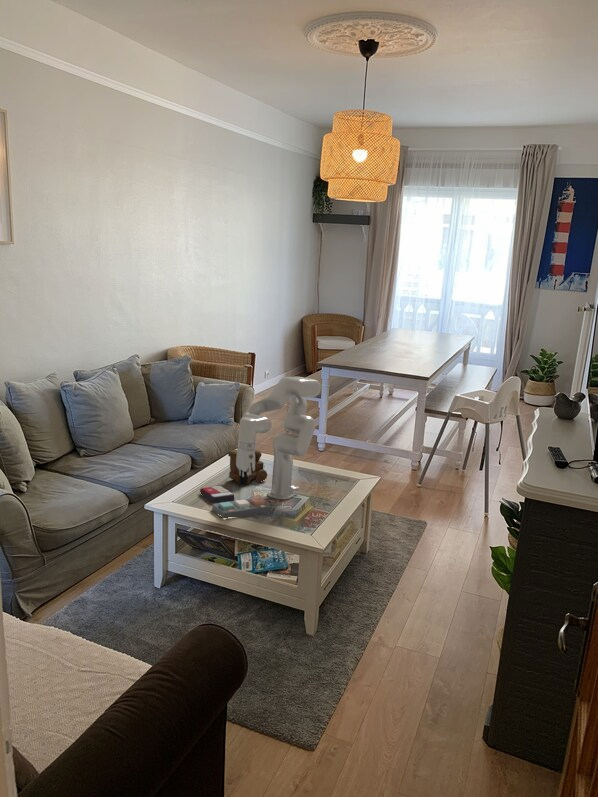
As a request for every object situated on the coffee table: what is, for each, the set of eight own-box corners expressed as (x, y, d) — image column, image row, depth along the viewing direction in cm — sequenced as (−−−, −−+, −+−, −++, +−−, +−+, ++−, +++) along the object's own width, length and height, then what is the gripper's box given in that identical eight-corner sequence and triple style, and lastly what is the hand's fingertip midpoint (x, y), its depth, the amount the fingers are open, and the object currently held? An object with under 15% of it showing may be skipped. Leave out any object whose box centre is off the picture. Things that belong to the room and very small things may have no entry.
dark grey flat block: (258, 503, 292) (258, 497, 291) (271, 512, 282) (271, 505, 282) (212, 510, 279) (212, 503, 278) (223, 519, 269) (224, 512, 268)
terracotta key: (259, 502, 288) (259, 497, 287) (264, 506, 284) (265, 500, 283) (250, 503, 285) (250, 498, 285) (255, 507, 281) (255, 502, 281)
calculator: (220, 484, 304) (234, 493, 291) (219, 493, 304) (234, 502, 292) (199, 487, 297) (213, 496, 285) (199, 496, 298) (213, 505, 286)
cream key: (244, 504, 284) (244, 499, 283) (249, 508, 279) (249, 503, 279) (234, 505, 281) (235, 500, 280) (239, 509, 277) (240, 504, 276)
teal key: (228, 506, 279) (229, 501, 279) (233, 510, 275) (234, 505, 275) (218, 508, 276) (219, 502, 276) (223, 512, 272) (224, 506, 272)
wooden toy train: (237, 487, 312) (239, 455, 309) (225, 480, 320) (227, 449, 317) (269, 481, 325) (271, 451, 322) (256, 475, 333) (258, 445, 330)
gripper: (262, 449, 271) (258, 489, 274) (245, 440, 283) (242, 478, 286) (247, 450, 266) (243, 490, 270) (231, 441, 279) (228, 480, 282)
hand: (243, 484), depth 278 cm, fingers closed
